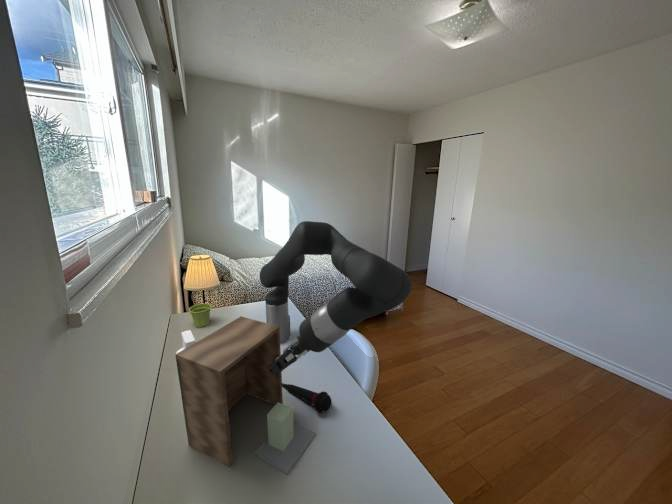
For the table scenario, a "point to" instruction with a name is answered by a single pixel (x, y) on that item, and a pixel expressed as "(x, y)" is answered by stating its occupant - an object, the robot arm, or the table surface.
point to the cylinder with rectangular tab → (186, 340)
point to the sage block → (280, 426)
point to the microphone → (311, 397)
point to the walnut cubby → (226, 380)
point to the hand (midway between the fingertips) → (282, 359)
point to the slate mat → (287, 449)
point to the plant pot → (200, 314)
